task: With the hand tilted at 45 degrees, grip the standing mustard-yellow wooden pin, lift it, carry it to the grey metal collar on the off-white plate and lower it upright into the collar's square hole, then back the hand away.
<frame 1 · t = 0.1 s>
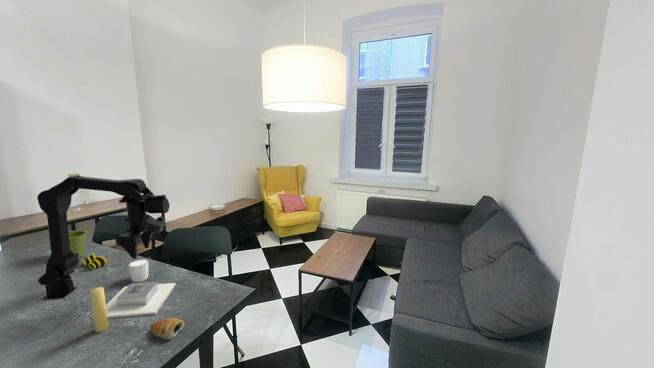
hand: (141, 253, 101), 15 cm above the table, tool pointing down, fingers open, 9 cm apart
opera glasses: (94, 266, 120), on the table
pastry: (167, 332, 82), on the table
metal collar: (138, 293, 96), on the base plate, point 2 cm above the table
base plate: (139, 300, 96), on the table
pin: (102, 328, 82), on the table
white short cylinder: (140, 278, 111), on the table
plant pot: (73, 257, 127), on the table
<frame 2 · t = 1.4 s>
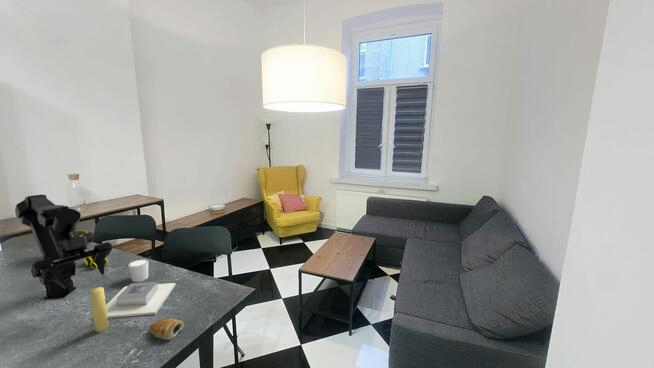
hand: (85, 280, 84), 13 cm above the table, tool tilted 45°, fingers open, 9 cm apart
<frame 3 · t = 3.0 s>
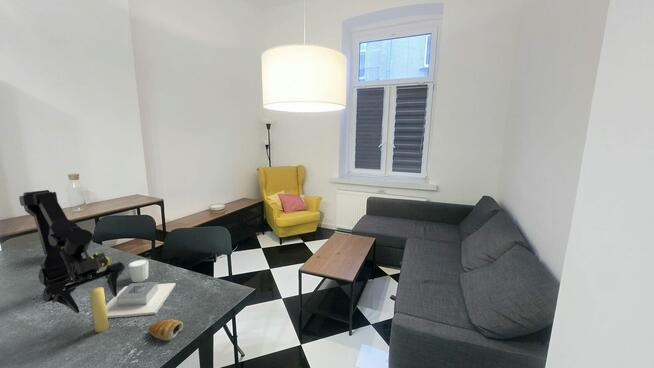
hand: (98, 304, 81), 8 cm above the table, tool tilted 45°, fingers open, 9 cm apart
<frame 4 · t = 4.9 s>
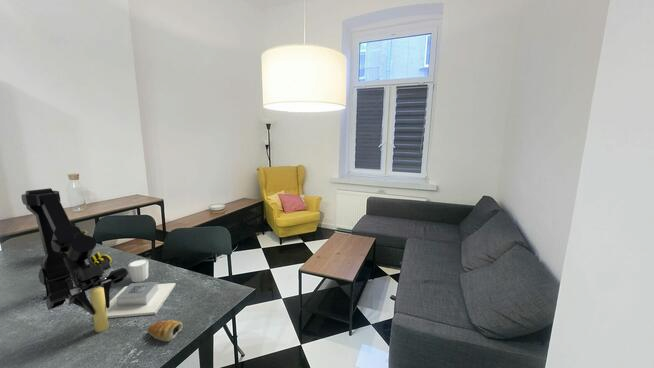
hand: (101, 310, 80), 7 cm above the table, tool tilted 45°, fingers closed on pin, 3 cm apart
pin: (101, 328, 82), on the table, touching gripper
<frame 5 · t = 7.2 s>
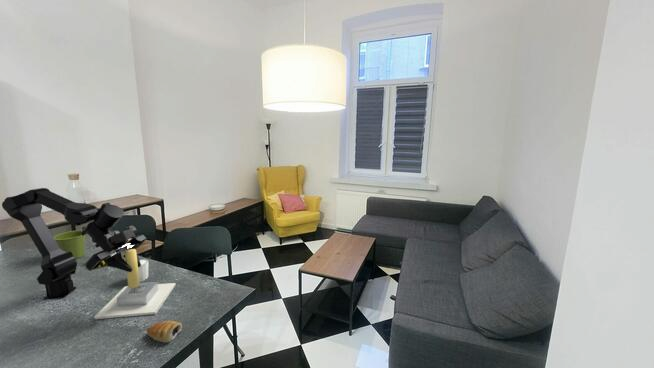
hand: (135, 268, 92), 13 cm above the table, tool tilted 45°, fingers closed on pin, 3 cm apart
pin: (134, 285, 93), point 7 cm above the table, touching gripper
when the fingers open (9 cm above the table, at t = 9.6 s): pin drops 1 cm, resting on base plate.
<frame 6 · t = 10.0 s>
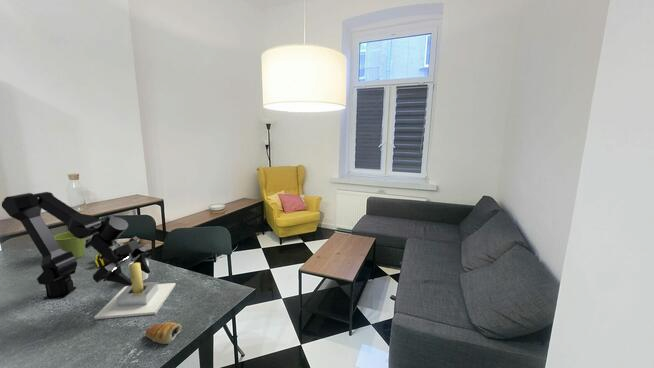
hand: (140, 278, 95), 9 cm above the table, tool tilted 45°, fingers open, 8 cm apart
pin: (139, 298, 96), point 1 cm above the table, touching base plate
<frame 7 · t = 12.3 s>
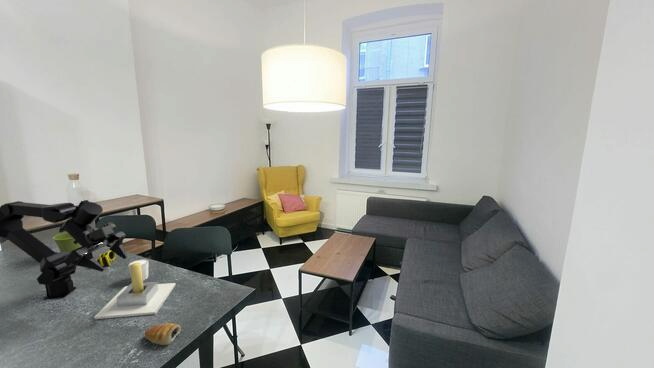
hand: (115, 264, 94), 14 cm above the table, tool tilted 45°, fingers open, 9 cm apart
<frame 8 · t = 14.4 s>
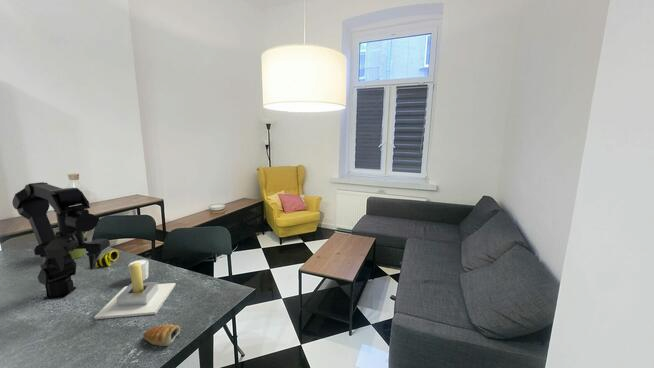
hand: (77, 270, 91), 13 cm above the table, tool pointing down, fingers open, 9 cm apart
at the end: pin 0.0 cm off-centre on the metal collar, point 0.8 cm above the metal collar's base; pin tilted 1°; the gripper is holding nothing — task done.
